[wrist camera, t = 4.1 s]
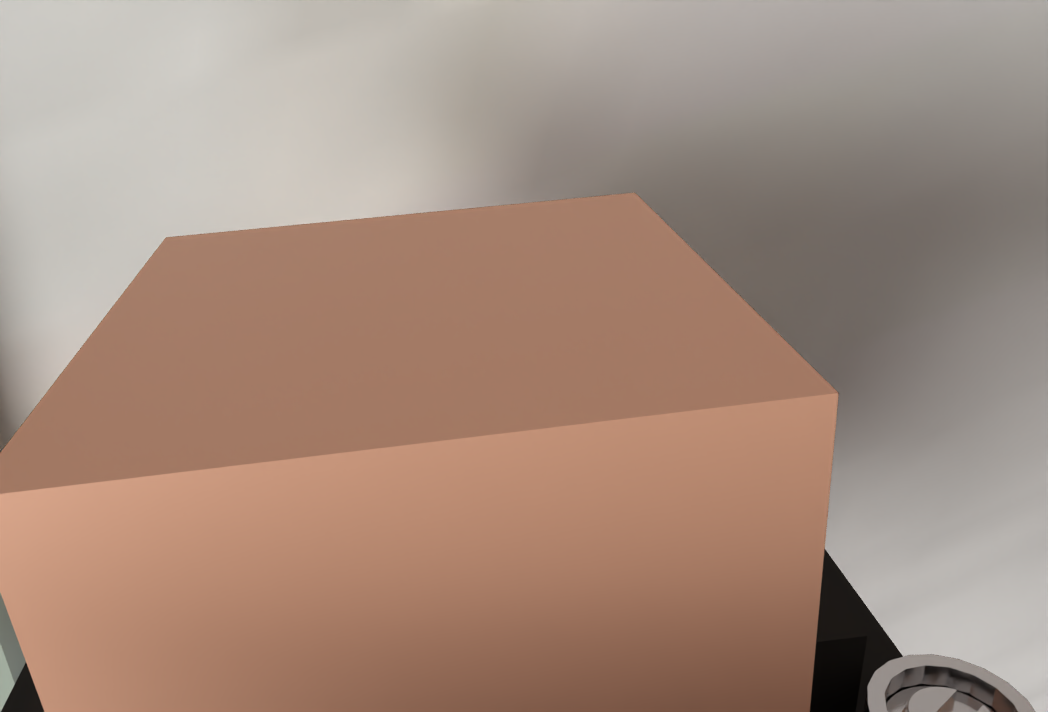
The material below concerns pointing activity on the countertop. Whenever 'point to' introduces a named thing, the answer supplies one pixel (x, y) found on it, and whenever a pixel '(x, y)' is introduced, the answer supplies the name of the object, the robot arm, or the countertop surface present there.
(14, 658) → the build plate
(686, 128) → the countertop surface
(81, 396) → the terracotta brick
